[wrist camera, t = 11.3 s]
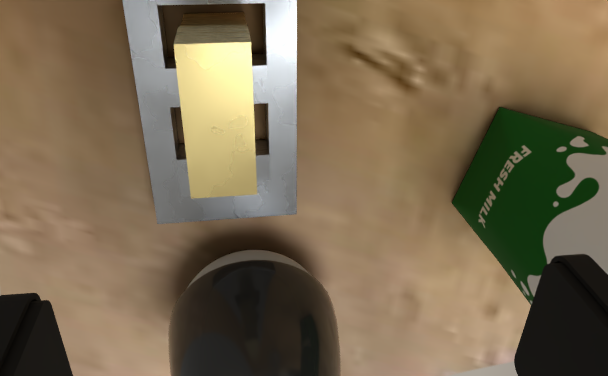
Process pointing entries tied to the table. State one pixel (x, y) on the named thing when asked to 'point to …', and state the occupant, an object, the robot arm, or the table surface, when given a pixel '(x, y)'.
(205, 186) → the tan wooden block
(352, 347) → the table surface
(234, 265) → the pump dispenser
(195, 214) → the grey flat board
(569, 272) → the robot arm
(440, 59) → the table surface
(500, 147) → the milk carton
